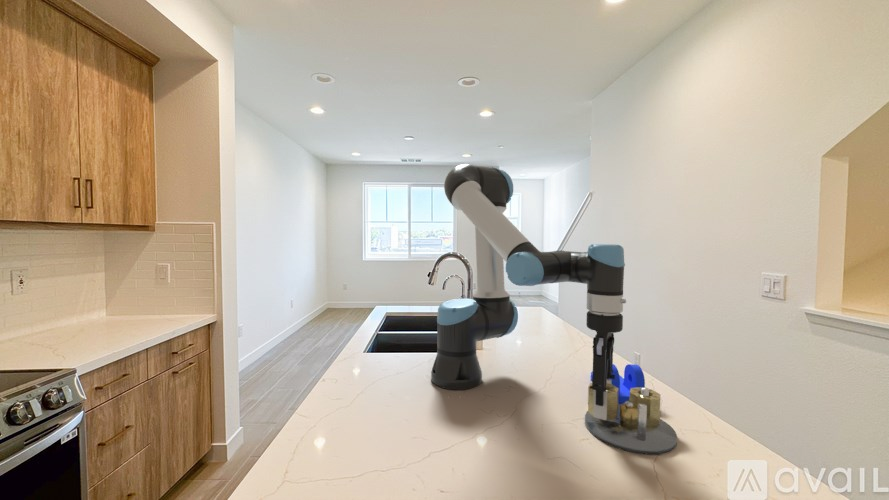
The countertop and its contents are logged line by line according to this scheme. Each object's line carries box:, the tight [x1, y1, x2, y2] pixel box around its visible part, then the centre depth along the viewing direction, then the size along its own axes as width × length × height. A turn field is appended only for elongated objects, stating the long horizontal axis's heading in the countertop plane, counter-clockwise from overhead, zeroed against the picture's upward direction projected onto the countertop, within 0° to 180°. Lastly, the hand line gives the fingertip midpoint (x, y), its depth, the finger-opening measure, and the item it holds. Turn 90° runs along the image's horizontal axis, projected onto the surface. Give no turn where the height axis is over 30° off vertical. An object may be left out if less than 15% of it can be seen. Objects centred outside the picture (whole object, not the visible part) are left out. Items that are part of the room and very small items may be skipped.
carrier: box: [584, 386, 678, 456], centre depth 79 cm, size 18×18×8 cm
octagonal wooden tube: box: [587, 382, 619, 420], centre depth 82 cm, size 6×6×6 cm
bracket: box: [590, 363, 646, 405], centre depth 100 cm, size 18×8×9 cm, turn 177°
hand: (602, 411), depth 82 cm, fingers closed on octagonal wooden tube, 6 cm apart
